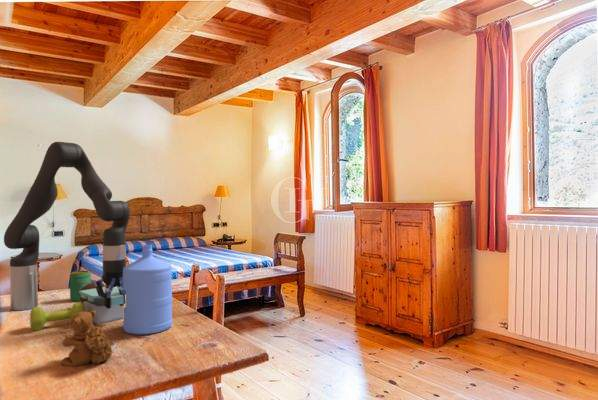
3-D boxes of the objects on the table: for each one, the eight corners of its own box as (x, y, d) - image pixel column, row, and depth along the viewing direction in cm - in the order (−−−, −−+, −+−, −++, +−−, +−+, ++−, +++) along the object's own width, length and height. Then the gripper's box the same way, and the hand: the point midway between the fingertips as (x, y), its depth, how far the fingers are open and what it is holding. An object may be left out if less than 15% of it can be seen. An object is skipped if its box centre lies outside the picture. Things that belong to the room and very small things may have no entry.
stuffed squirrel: (86, 351, 120) (86, 305, 120) (124, 358, 115) (123, 310, 115) (54, 364, 111) (54, 314, 111) (93, 372, 105) (93, 320, 105)
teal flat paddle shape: (79, 298, 153) (79, 291, 153) (108, 293, 161) (108, 286, 161) (102, 307, 140) (102, 299, 140) (132, 301, 148) (132, 293, 148)
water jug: (182, 324, 145) (181, 243, 144) (148, 338, 130) (147, 248, 130) (148, 318, 151) (147, 241, 151) (112, 331, 137) (111, 246, 137)
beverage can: (87, 296, 186) (87, 269, 186) (93, 299, 180) (93, 272, 180) (68, 299, 181) (67, 272, 181) (73, 303, 175) (72, 274, 175)
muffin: (112, 309, 165) (112, 284, 165) (81, 313, 158) (80, 287, 158) (107, 303, 174) (106, 279, 174) (77, 307, 168) (77, 282, 168)
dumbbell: (30, 333, 136) (29, 311, 136) (30, 327, 143) (30, 306, 143) (86, 325, 145) (86, 304, 145) (83, 319, 152) (83, 299, 152)
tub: (83, 318, 153) (83, 301, 153) (108, 312, 160) (108, 297, 159) (97, 324, 145) (97, 307, 145) (123, 318, 152) (122, 302, 152)
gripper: (129, 254, 153) (129, 301, 154) (88, 259, 143) (89, 309, 143) (139, 256, 148) (139, 304, 149) (98, 261, 138) (98, 313, 138)
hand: (114, 306), depth 146 cm, fingers closed on teal flat paddle shape, 4 cm apart
